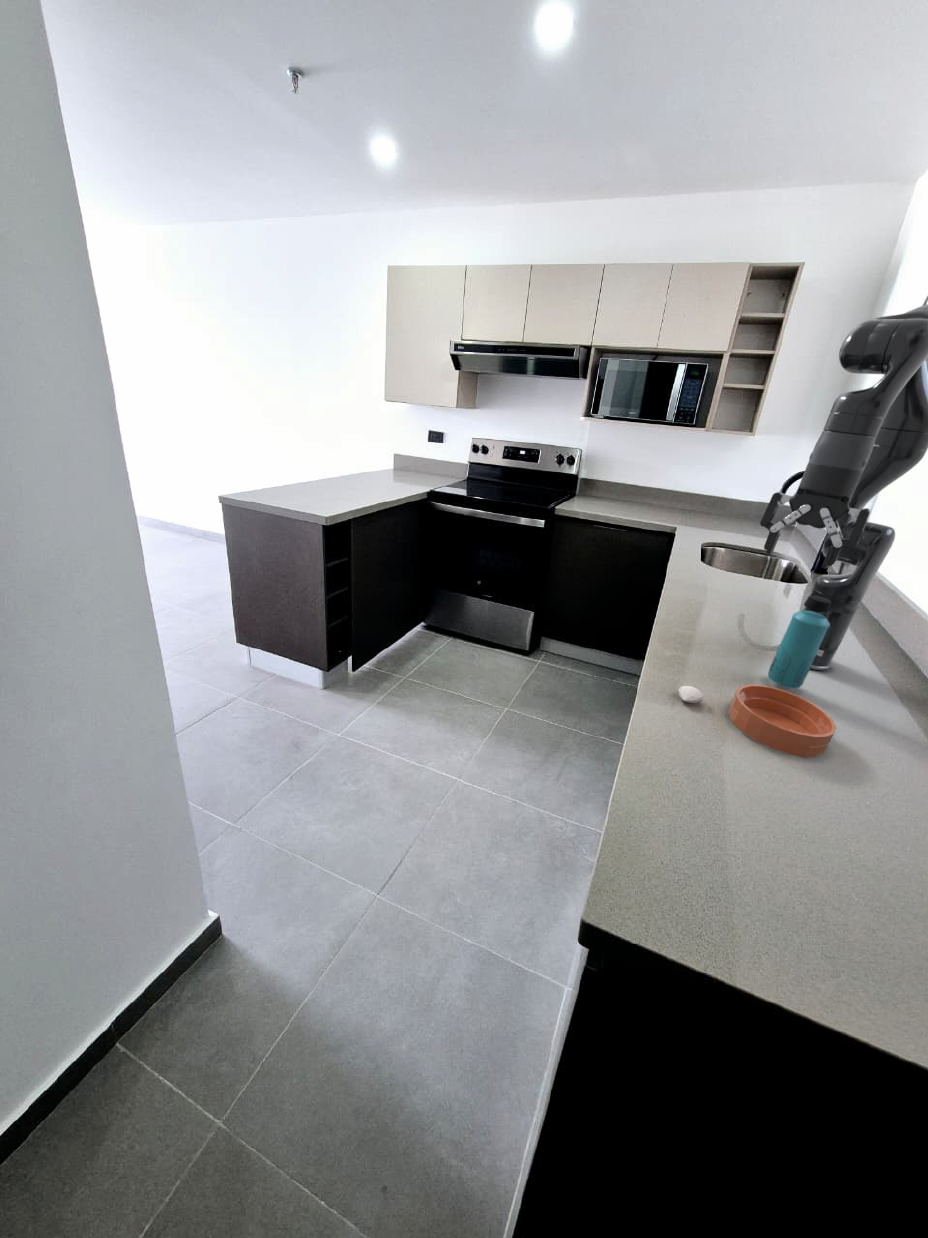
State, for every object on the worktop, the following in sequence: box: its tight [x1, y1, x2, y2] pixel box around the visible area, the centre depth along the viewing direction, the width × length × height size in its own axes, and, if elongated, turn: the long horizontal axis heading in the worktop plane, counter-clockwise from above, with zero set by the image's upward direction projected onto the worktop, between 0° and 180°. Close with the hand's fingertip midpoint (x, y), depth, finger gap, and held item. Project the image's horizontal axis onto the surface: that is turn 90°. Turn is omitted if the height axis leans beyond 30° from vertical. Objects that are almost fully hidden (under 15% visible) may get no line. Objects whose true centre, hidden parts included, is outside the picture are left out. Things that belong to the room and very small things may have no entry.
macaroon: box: [677, 685, 704, 704], centre depth 90 cm, size 4×5×2 cm
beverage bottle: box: [767, 595, 832, 689], centre depth 97 cm, size 6×7×20 cm
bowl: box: [728, 684, 837, 758], centre depth 85 cm, size 15×15×4 cm
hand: (795, 560), depth 84 cm, fingers open, 8 cm apart
